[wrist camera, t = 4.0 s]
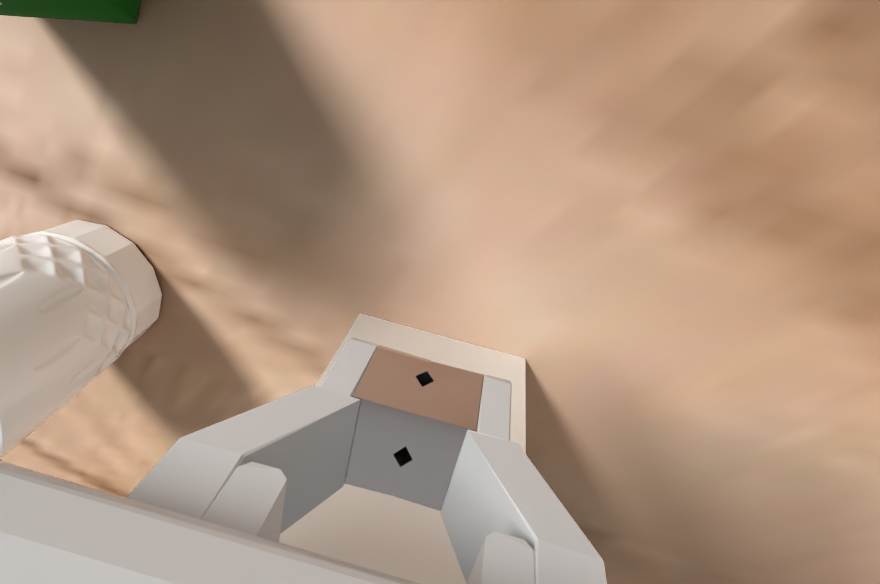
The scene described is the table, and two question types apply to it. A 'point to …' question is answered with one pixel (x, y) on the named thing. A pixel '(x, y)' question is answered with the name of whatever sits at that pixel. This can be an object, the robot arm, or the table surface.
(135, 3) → the milk carton
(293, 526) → the carton
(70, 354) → the white cup
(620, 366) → the table surface
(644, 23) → the table surface
